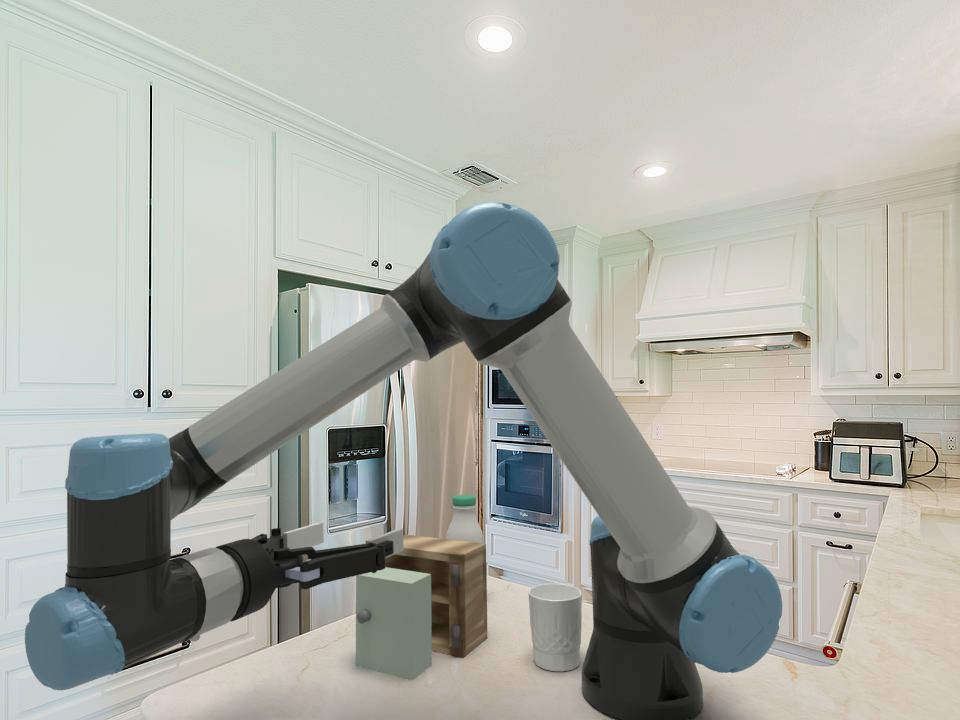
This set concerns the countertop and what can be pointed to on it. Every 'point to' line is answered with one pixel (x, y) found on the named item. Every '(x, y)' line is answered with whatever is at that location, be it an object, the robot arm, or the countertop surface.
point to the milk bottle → (464, 520)
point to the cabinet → (450, 589)
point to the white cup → (556, 626)
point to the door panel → (394, 622)
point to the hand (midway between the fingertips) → (359, 535)
